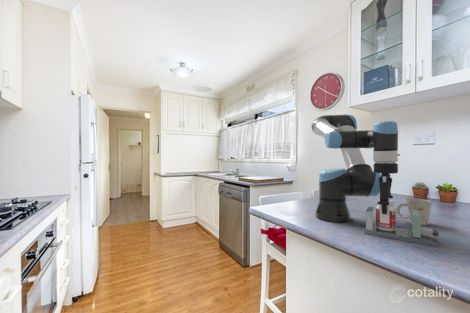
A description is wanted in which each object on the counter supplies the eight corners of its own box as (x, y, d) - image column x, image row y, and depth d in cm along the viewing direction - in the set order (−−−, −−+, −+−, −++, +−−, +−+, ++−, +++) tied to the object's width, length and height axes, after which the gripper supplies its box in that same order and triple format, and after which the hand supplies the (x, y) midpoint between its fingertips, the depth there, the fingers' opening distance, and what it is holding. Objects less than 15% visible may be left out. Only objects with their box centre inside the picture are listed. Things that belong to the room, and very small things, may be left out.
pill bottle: (395, 233, 76) (395, 202, 76) (375, 229, 79) (374, 200, 80) (396, 228, 80) (396, 199, 80) (377, 225, 84) (376, 197, 84)
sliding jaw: (412, 236, 71) (412, 214, 72) (411, 229, 79) (411, 209, 79) (440, 241, 67) (440, 218, 67) (437, 233, 74) (436, 212, 74)
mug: (436, 226, 87) (436, 202, 87) (402, 224, 90) (402, 201, 90) (423, 220, 95) (423, 198, 95) (392, 219, 98) (391, 197, 98)
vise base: (364, 233, 80) (364, 211, 80) (367, 226, 88) (367, 206, 88) (437, 246, 67) (436, 220, 67) (433, 237, 75) (433, 213, 75)
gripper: (397, 163, 68) (397, 229, 68) (398, 161, 87) (398, 212, 87) (369, 163, 73) (370, 224, 73) (376, 161, 92) (376, 209, 92)
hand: (385, 218), depth 80 cm, fingers open, 13 cm apart
